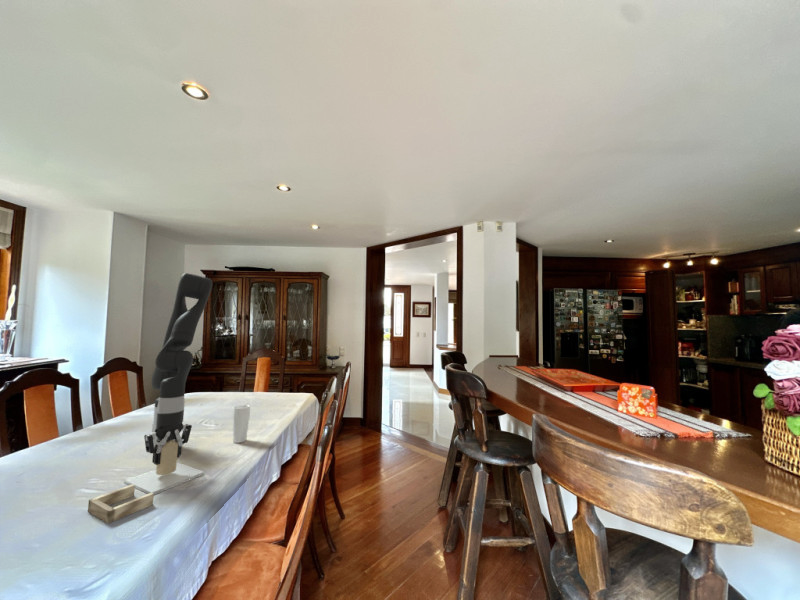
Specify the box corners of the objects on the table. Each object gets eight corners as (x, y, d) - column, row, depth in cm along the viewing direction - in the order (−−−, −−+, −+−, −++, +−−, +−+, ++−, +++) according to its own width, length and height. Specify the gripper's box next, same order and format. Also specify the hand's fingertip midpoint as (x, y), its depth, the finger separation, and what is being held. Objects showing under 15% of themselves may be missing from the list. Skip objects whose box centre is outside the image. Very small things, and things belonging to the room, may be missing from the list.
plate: (124, 482, 104) (124, 480, 104) (176, 464, 118) (176, 462, 119) (151, 495, 97) (151, 492, 97) (203, 474, 111) (204, 471, 111)
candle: (162, 467, 111) (165, 437, 111) (179, 467, 111) (181, 437, 112) (151, 475, 105) (154, 443, 106) (169, 475, 106) (172, 443, 106)
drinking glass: (241, 444, 139) (243, 409, 140) (227, 443, 140) (230, 408, 142) (251, 439, 146) (253, 405, 147) (238, 437, 147) (240, 404, 148)
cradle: (108, 523, 83) (109, 511, 83) (87, 511, 88) (88, 499, 89) (152, 504, 92) (153, 493, 93) (131, 494, 97) (132, 484, 98)
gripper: (186, 403, 118) (182, 451, 116) (140, 412, 105) (135, 466, 104) (198, 406, 114) (195, 455, 113) (153, 416, 102) (148, 471, 100)
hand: (166, 460), depth 108 cm, fingers closed on candle, 5 cm apart
